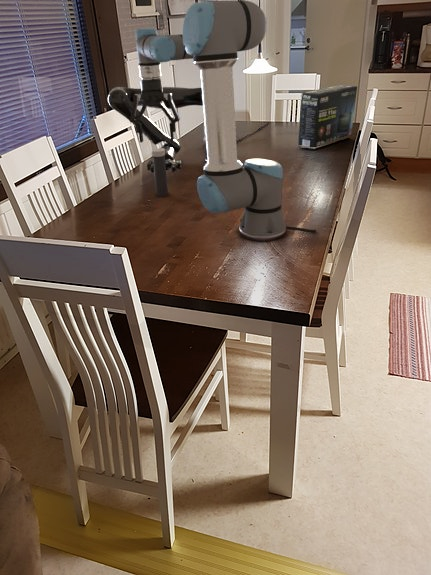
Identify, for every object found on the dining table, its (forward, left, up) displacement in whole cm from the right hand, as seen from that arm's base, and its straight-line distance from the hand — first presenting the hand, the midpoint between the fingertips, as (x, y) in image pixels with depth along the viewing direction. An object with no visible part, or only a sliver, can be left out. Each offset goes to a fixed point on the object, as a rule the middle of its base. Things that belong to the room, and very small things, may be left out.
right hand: (157, 141), depth 174 cm
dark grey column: (0, 0, -21) cm, 21 cm away
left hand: (+5, -9, -14) cm, 18 cm away
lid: (0, 0, -4) cm, 4 cm away
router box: (-33, -102, -21) cm, 110 cm away
